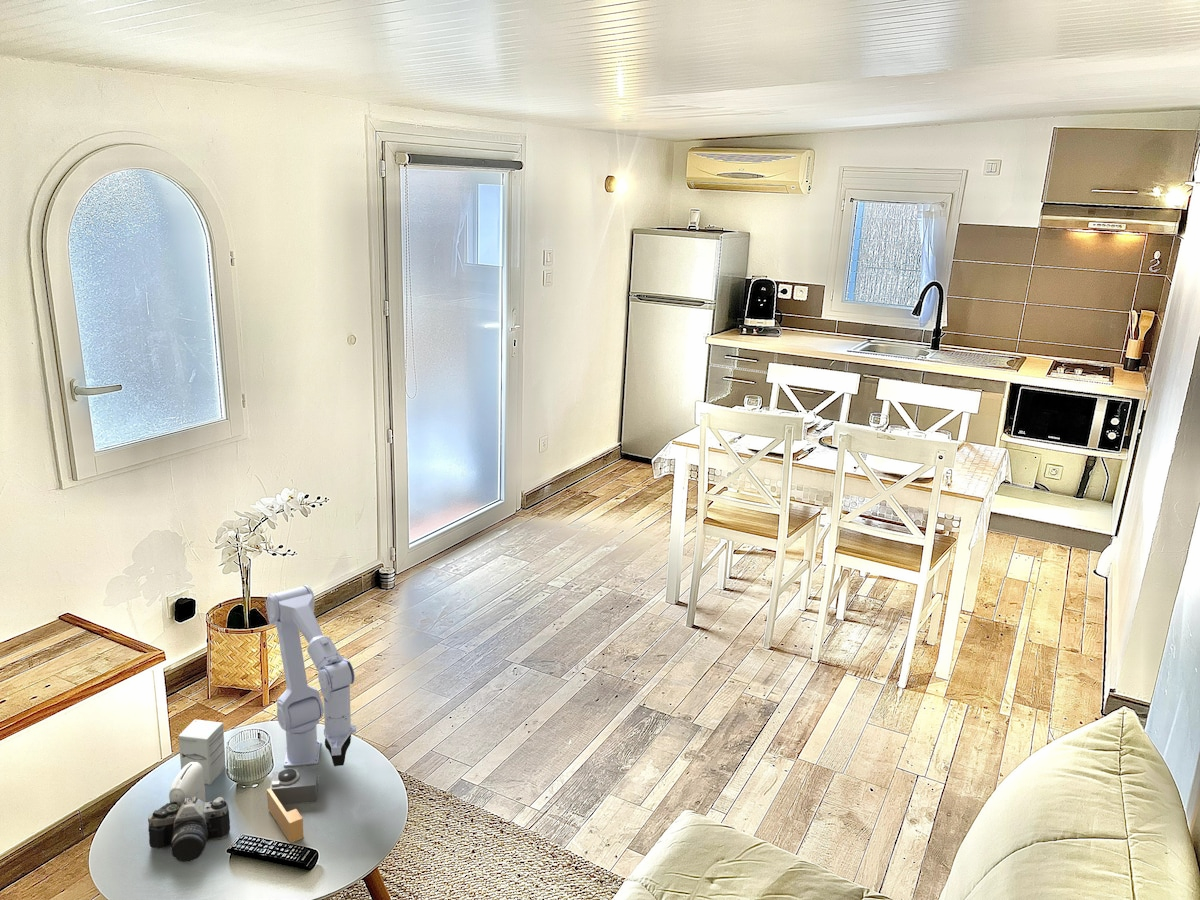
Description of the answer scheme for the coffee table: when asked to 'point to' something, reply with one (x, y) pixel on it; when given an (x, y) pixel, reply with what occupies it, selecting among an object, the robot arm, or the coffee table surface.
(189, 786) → the photo printer
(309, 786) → the block
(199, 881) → the coffee table surface
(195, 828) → the camera
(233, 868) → the coffee table surface
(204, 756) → the supplement box
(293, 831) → the tan l-shaped bracket
